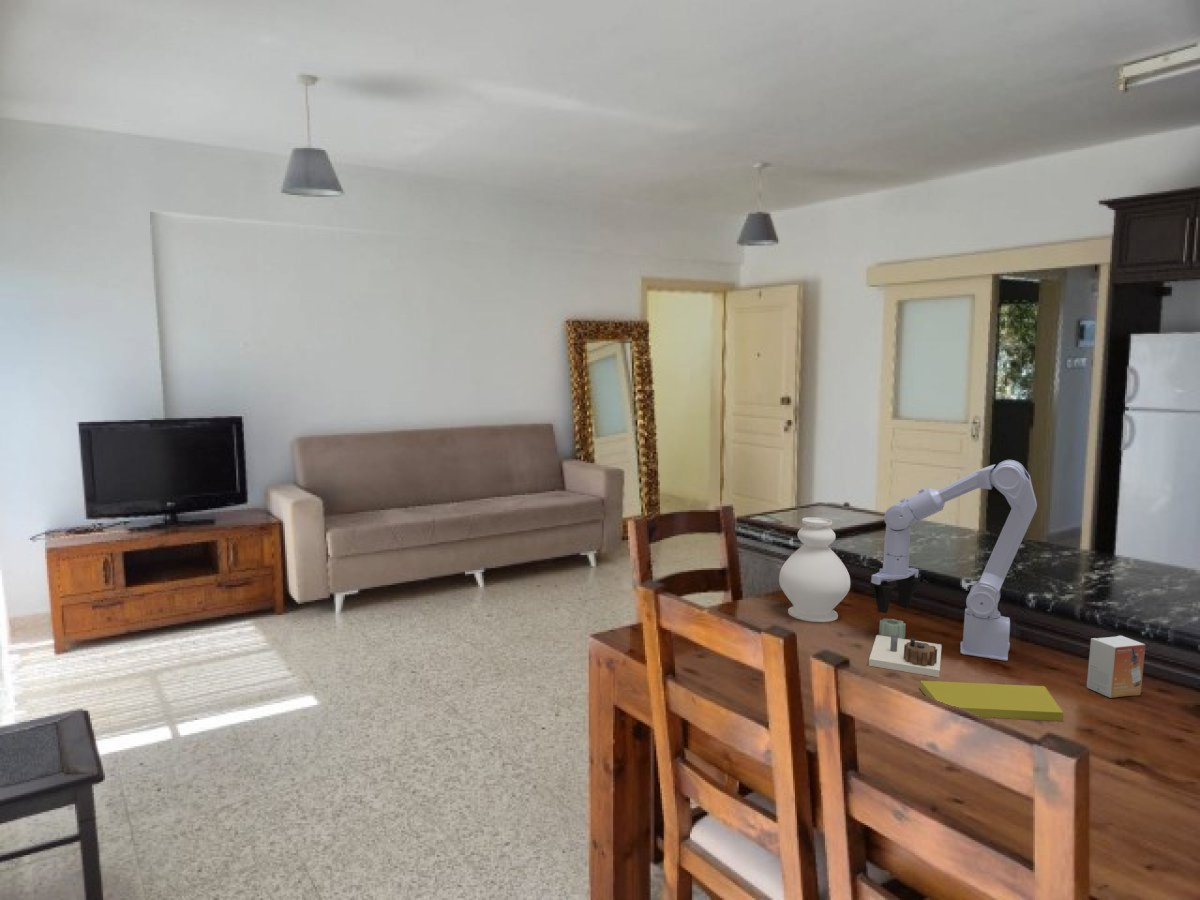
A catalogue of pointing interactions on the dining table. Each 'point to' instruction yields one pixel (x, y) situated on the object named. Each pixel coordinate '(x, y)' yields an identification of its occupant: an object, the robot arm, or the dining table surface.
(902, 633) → the sage gear
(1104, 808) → the dining table surface
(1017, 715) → the flat olive board
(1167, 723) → the dining table surface
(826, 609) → the decorative vase
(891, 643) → the gear board
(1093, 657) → the small box
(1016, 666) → the dining table surface
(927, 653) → the drive gear
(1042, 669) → the dining table surface
